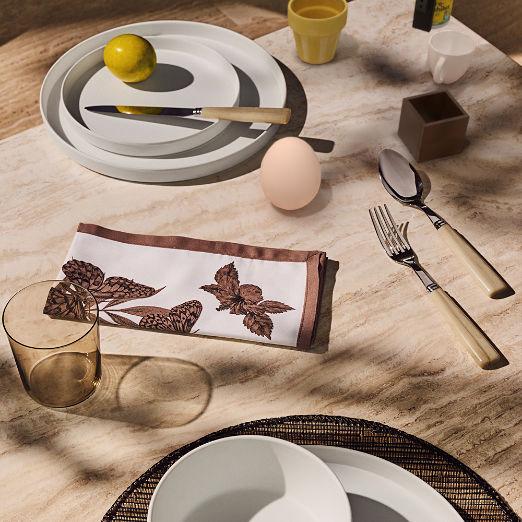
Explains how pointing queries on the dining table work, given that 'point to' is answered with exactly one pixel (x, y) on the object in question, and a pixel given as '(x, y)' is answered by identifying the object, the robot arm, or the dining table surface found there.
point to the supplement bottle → (441, 13)
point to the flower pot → (317, 27)
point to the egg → (290, 173)
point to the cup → (450, 55)
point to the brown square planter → (432, 125)
